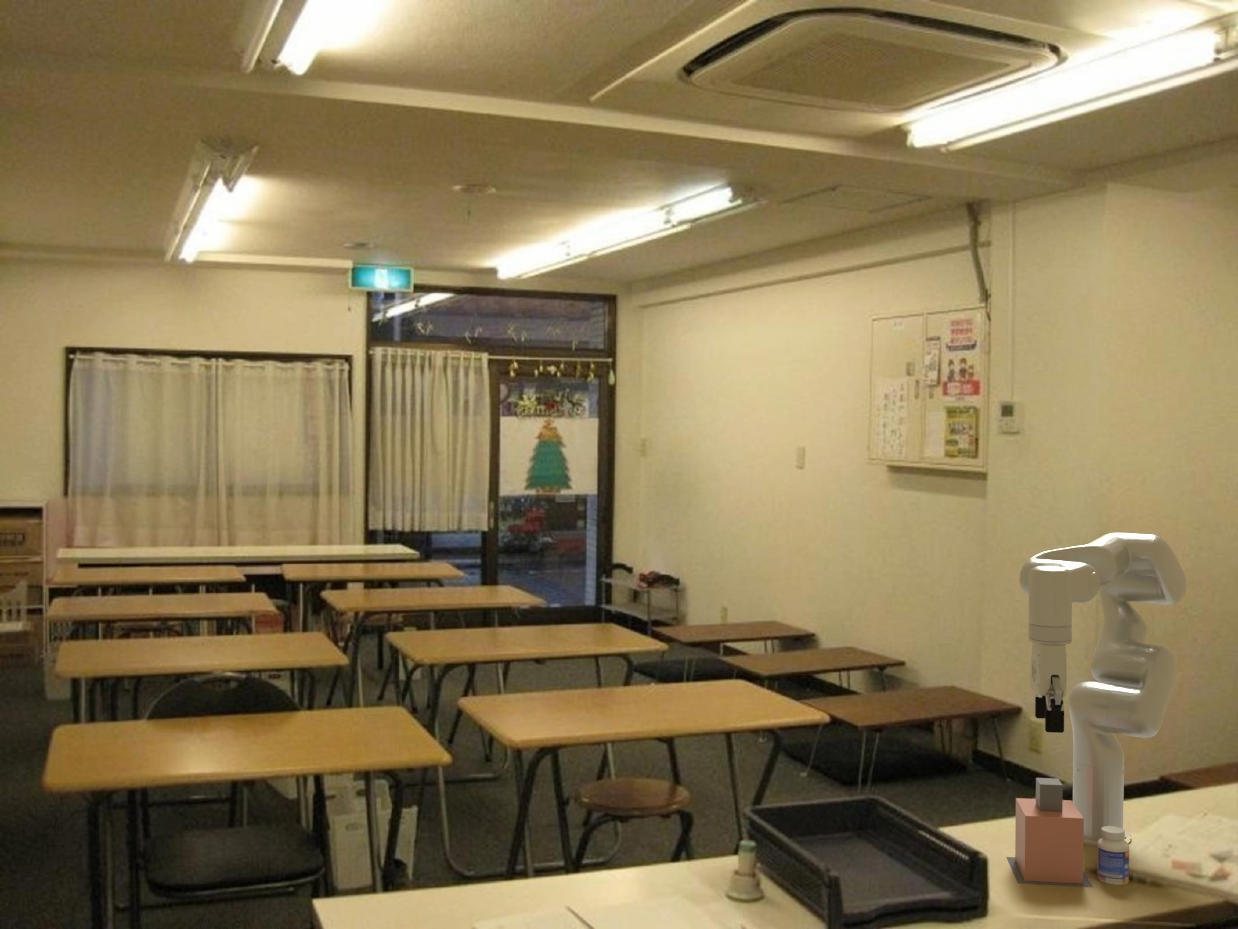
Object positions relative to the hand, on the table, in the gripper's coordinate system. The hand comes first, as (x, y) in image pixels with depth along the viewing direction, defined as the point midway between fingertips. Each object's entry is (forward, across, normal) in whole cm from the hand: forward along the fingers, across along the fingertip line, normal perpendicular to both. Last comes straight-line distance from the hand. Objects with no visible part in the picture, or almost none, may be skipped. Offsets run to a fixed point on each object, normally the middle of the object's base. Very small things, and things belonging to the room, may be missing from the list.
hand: (1049, 724), depth 225 cm
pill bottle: (+28, +2, +11) cm, 31 cm away
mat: (+28, 0, 0) cm, 28 cm away
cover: (+28, 0, 0) cm, 28 cm away
